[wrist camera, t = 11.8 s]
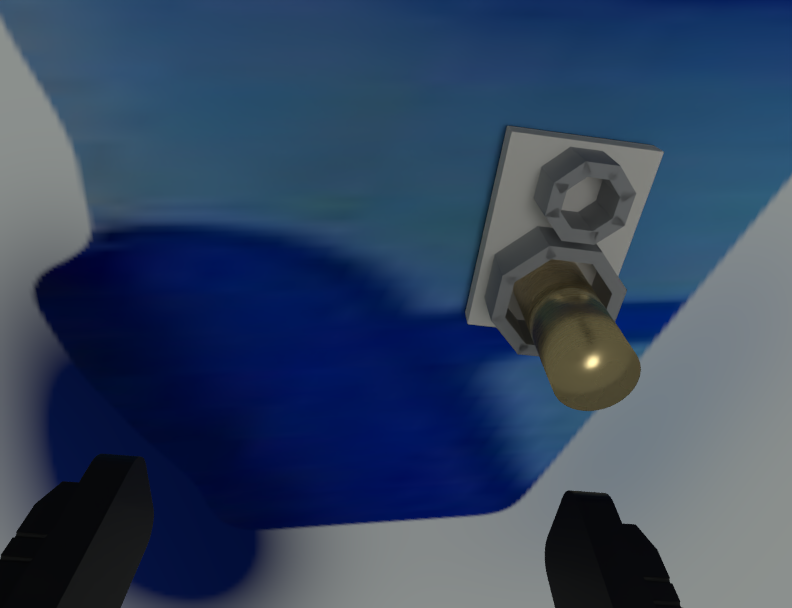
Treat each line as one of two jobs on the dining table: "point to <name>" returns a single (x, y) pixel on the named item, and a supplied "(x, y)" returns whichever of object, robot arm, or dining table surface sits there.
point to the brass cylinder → (576, 337)
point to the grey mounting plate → (558, 220)
